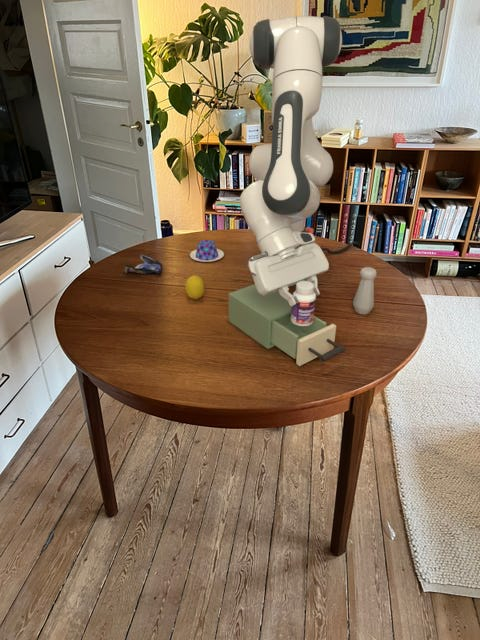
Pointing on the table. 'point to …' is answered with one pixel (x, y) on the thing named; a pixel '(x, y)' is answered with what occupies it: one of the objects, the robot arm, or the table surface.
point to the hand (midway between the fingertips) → (305, 300)
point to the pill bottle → (304, 304)
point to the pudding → (206, 252)
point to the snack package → (145, 266)
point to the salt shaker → (365, 291)
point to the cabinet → (256, 312)
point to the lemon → (194, 287)
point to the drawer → (305, 339)
